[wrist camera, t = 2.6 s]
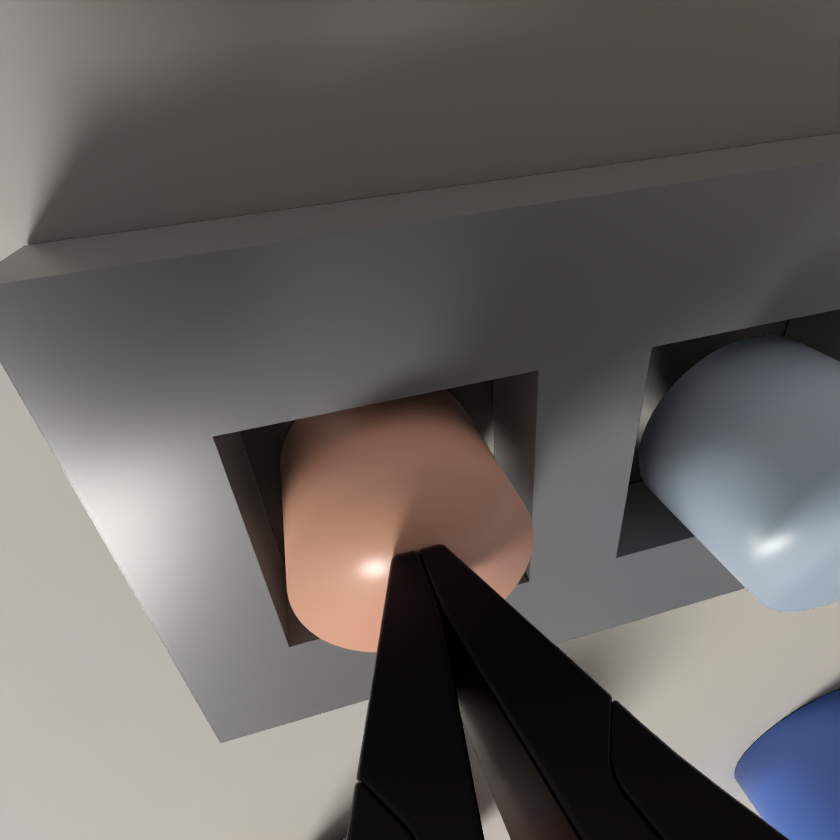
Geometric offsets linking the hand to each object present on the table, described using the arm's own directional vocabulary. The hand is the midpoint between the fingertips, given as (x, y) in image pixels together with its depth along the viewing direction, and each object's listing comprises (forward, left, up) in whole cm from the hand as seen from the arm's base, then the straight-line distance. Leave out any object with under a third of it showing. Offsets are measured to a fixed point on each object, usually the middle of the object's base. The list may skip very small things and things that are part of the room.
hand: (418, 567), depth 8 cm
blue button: (-7, 0, -2) cm, 7 cm away
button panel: (-7, 0, -3) cm, 8 cm away
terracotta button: (0, 0, -3) cm, 3 cm away
